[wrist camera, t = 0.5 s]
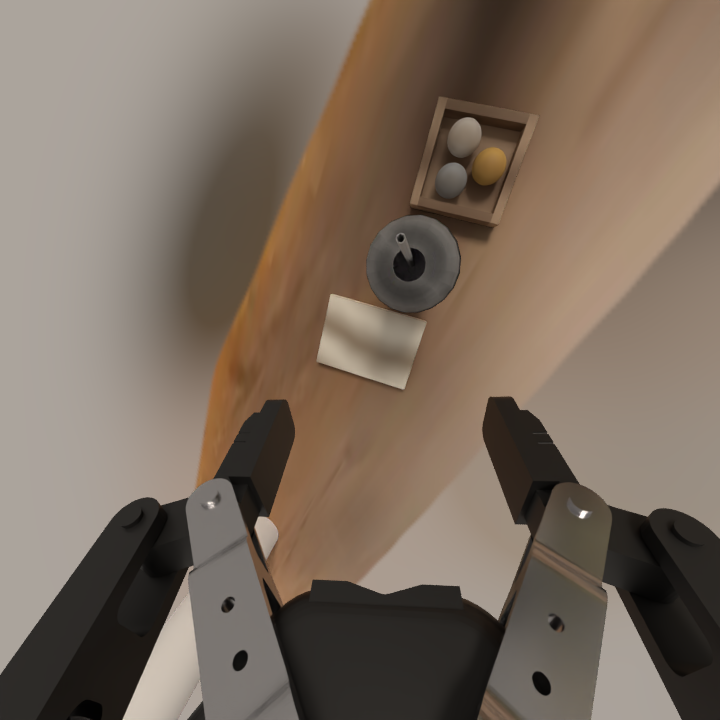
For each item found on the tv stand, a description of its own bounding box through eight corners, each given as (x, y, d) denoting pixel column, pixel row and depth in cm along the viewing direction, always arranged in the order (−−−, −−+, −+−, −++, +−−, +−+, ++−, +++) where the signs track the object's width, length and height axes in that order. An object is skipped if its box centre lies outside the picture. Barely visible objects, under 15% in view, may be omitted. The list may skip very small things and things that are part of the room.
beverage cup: (389, 304, 35) (347, 342, 16) (380, 240, 33) (321, 201, 15) (452, 294, 33) (485, 324, 15) (446, 226, 31) (476, 161, 13)
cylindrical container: (265, 509, 50) (121, 722, 26) (285, 542, 51) (165, 773, 27) (234, 518, 52) (77, 720, 28) (254, 548, 53) (119, 767, 30)
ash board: (333, 293, 36) (330, 294, 35) (426, 320, 35) (426, 322, 34) (319, 359, 39) (316, 361, 38) (404, 386, 38) (404, 389, 37)
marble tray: (438, 108, 29) (439, 86, 25) (531, 126, 27) (546, 106, 24) (410, 207, 32) (408, 200, 28) (493, 227, 30) (501, 222, 27)
